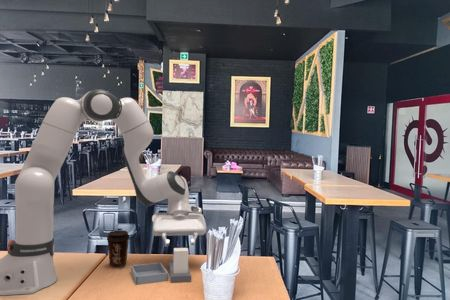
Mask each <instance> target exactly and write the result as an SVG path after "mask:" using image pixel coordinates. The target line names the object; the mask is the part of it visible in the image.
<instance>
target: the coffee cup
mask: <svg viewBox="0 0 450 300" xmlns="http://www.w3.org/2000/svg"><path fill="white" fill-rule="evenodd" d="M129 240H130V235H129V232H128V231H126V230H121V229H119V230H112V231H109V233H108V234H107V236H106V241H107V244H108V245H107V251H108V252H107V253H108V259H109V261H108V262H109V263H108V267H109V269H113V270H121V269H123V268H125V267H126V266H127V258H128V251H129Z"/></svg>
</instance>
